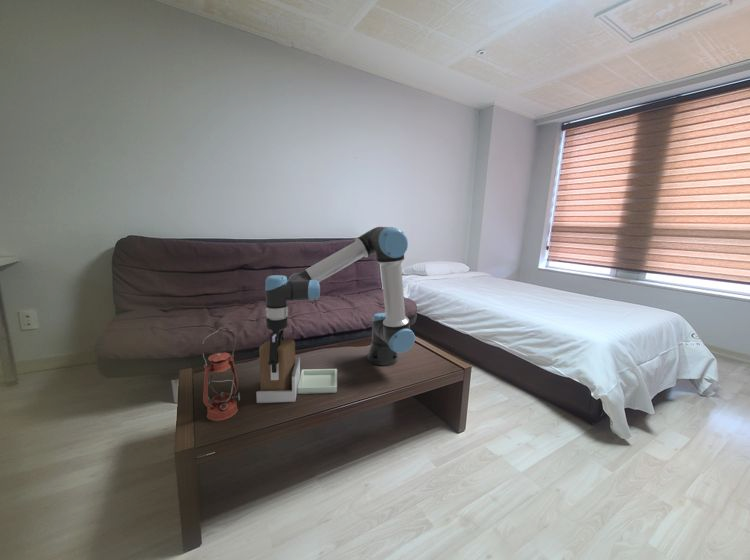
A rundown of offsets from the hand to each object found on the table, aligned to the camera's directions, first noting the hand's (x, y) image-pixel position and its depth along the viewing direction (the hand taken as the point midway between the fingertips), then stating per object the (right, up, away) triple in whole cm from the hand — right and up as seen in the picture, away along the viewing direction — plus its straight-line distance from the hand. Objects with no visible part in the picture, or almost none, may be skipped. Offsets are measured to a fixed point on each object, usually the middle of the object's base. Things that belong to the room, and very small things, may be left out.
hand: (278, 371), depth 116 cm
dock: (0, -8, +2) cm, 8 cm away
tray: (+14, -7, +8) cm, 18 cm away
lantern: (-15, -10, -12) cm, 22 cm away
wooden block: (0, -8, +2) cm, 8 cm away
